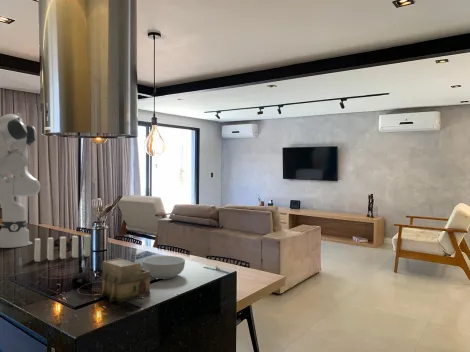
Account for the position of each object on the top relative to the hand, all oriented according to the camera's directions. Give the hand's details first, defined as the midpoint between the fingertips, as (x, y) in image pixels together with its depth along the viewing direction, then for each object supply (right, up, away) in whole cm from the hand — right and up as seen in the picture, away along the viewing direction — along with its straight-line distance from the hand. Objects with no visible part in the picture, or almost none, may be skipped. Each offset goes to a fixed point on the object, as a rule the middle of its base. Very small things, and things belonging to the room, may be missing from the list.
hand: (16, 179), depth 173 cm
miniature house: (+70, -39, -52) cm, 95 cm away
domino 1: (+12, -38, -4) cm, 40 cm away
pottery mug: (+13, -39, +21) cm, 46 cm away
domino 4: (+26, -38, +5) cm, 47 cm away
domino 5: (+31, -38, +8) cm, 50 cm away
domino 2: (+17, -38, -1) cm, 42 cm away
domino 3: (+22, -38, +2) cm, 44 cm away
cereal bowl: (+77, -39, -29) cm, 92 cm away
